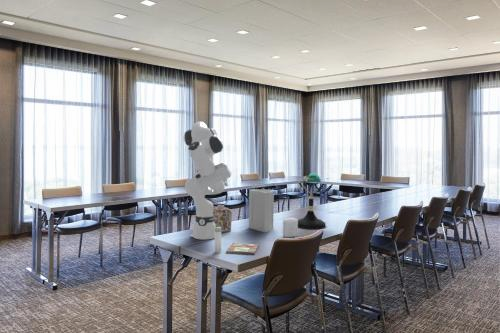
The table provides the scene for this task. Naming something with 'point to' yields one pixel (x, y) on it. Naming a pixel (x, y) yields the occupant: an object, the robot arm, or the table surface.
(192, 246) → the table surface
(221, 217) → the decorative jar
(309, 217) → the banker's lamp
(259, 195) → the paper bag
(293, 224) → the photo printer
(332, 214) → the table surface
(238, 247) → the picture board
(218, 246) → the marker
